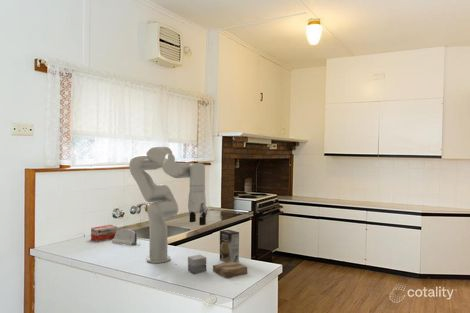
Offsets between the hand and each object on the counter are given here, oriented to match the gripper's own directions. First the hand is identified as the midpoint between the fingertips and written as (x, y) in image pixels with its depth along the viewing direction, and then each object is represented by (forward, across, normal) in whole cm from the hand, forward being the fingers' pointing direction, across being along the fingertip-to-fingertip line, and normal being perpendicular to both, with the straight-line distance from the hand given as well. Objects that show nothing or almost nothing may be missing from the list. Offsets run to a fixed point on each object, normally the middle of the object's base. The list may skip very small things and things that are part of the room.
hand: (197, 223), depth 173 cm
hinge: (+23, -75, -10) cm, 79 cm away
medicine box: (+23, -95, -18) cm, 100 cm away
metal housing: (+24, 0, 0) cm, 24 cm away
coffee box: (+24, -4, +22) cm, 33 cm away
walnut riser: (+24, +11, +12) cm, 28 cm away
